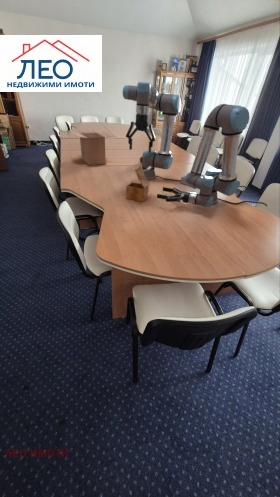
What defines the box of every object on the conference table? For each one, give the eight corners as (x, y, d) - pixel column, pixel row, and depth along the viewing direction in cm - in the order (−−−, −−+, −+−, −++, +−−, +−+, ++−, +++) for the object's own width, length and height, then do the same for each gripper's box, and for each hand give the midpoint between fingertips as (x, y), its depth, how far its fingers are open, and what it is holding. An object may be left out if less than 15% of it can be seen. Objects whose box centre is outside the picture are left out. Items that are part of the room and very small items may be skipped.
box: (116, 165, 229) (116, 136, 213) (83, 168, 214) (80, 137, 198) (102, 154, 259) (101, 128, 243) (71, 156, 244) (68, 129, 228)
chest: (126, 198, 165) (126, 186, 160) (131, 193, 173) (131, 181, 167) (143, 201, 162) (144, 189, 156) (147, 197, 169) (148, 185, 163)
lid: (134, 170, 151) (145, 165, 146) (139, 166, 158) (150, 161, 154) (143, 189, 156) (154, 184, 151) (148, 184, 163) (158, 180, 159)
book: (194, 177, 212) (195, 172, 209) (208, 182, 203) (210, 177, 200) (180, 182, 199) (181, 177, 196) (194, 188, 190) (196, 182, 187)
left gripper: (121, 112, 135) (120, 149, 148) (159, 116, 128) (155, 154, 141) (126, 111, 141) (125, 147, 153) (163, 115, 134) (159, 152, 147)
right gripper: (184, 210, 145) (154, 204, 151) (191, 196, 163) (164, 191, 169) (186, 199, 140) (154, 193, 146) (193, 186, 159) (165, 181, 165)
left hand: (140, 150), depth 147 cm, fingers open, 13 cm apart
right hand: (160, 192), depth 158 cm, fingers open, 13 cm apart
